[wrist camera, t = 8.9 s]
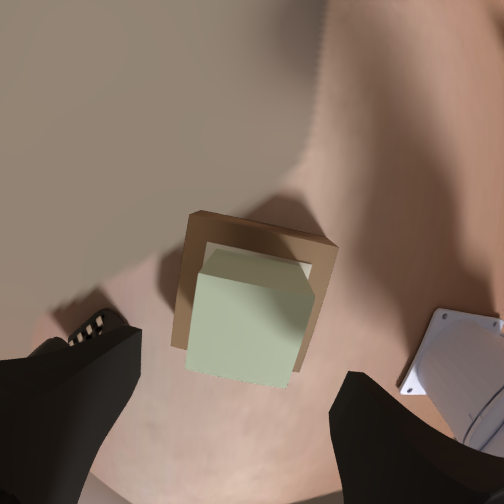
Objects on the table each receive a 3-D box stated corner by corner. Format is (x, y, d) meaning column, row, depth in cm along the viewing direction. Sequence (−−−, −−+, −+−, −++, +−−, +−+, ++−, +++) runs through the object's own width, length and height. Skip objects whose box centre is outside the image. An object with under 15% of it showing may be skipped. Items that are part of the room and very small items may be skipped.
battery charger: (106, 291, 19) (2, 374, 8) (138, 332, 20) (58, 437, 9) (62, 332, 21) (-22, 405, 9) (90, 366, 21) (19, 452, 10)
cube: (301, 266, 15) (315, 297, 11) (280, 340, 16) (285, 388, 12) (216, 248, 15) (198, 272, 11) (203, 324, 16) (184, 369, 12)
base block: (326, 237, 18) (339, 247, 15) (294, 348, 20) (299, 373, 17) (200, 210, 18) (188, 214, 15) (182, 324, 20) (170, 346, 17)
